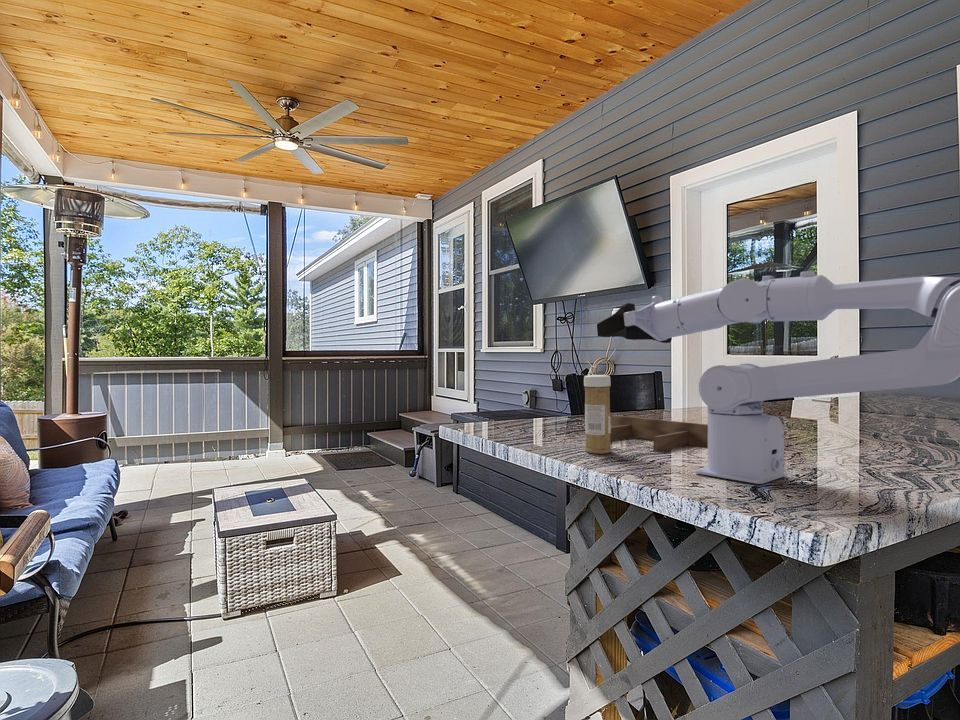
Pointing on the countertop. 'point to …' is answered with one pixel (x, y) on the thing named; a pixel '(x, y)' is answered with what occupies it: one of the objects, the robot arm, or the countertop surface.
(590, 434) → the sprinkles bottle
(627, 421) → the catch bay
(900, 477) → the countertop surface
